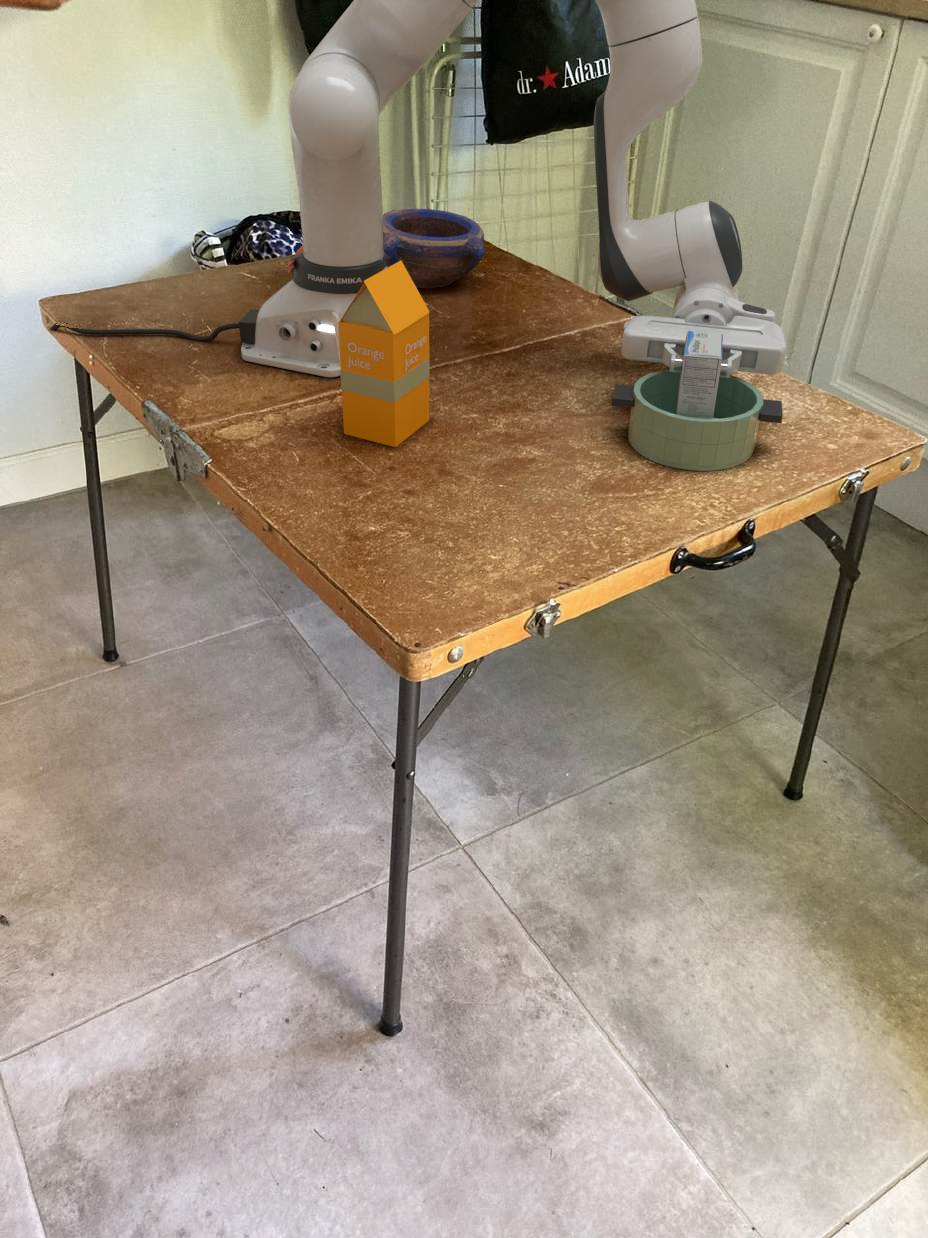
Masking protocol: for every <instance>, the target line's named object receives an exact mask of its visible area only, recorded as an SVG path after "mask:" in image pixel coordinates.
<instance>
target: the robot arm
mask: <svg viewBox="0 0 928 1238" xmlns="http://www.w3.org/2000/svg"><path fill="white" fill-rule="evenodd" d="M479 1H480V0H353V1H351V3H350V4H349V6H348V7H347V8H346V10H345V11H344V12H343V13H342V15H341V16H340V17H339V18H338V19H337V21H336V22H335V23H334V25H333V26H332V27H331V28H330V29H329V31H328V32H327V33H326V35H325V36H324V37H323V39H322V40H321V41H320V42H319V44H317V46H316V47H315V49H314V50H313V51H312V53H310V55H309V56H308V58H307V59H306V60H305V62H304V63H303V64H302V66H301V69H300V71H299V73H298V74H297V76H296V78H295V80H294V82H293V84H292V86H291V89H290V91H289V94H288V99H287V114H288V123H289V134H290V142H291V149H292V157H293V163H294V164H293V165H294V171H295V176H296V177H295V179H296V184H297V190H298V197H299V198H298V199H299V211H300V225H301V226H300V227H301V228H300V229H301V240H302V241H301V242H302V245H301V246H300V248H298V249H297V250H296V252H295V255H293V257H291V258H290V262H289V263H288V264H287V268H288V269H287V274H291V277H292V279H291V280H290V281H288V282H287V283H286V284H285V285H283V286H282V287H281V288H280V289H278V290H277V291H275V293H273V294H272V295H271V296H270V297H269V298H268V299H267V300H266V301H264V302H263V304H262V305H261V306H260V308H259V309H255V308H254V309H252V308H250V309H249V310H248V311H247V312H246V313H245V315H243V316H242V318H241V319H240V320H239V321H238V322H236V323H227V324H222V325H220V326H218V327H216V328H214V330H213V331H212V332H211V334H210V335H206V336H199V335H195V334H191V333H189V332H186V331H182V330H177V329H168V328H167V329H166V328H116V329H115V328H113V329H109V328H107V329H96V328H95V329H93V328H91V329H90V328H82V327H79V328H81V329H79V328H69V327H65V326H60V325H56V324H57V323H58V322H55V323H54V324H53V325H52V326H51V328H50V329H49V330H50V331H51V332H53V331H54V332H55V331H57V330H58V329H59V328H65V329H68V330H70V331H73V332H75V333H78V334H81V335H91V336H113V335H116V336H117V335H167V336H168V335H169V336H177V337H181V338H184V339H188V340H191V341H194V342H201V343H207V342H211V341H214V340H215V339H216V338H217V337H218V335H219V334H220V333H222V332H224V331H228V330H237V329H239V338H240V343H242V344H241V347H240V357H241V358H242V360H243V361H245V362H250V363H254V364H259V365H264V366H269V367H274V368H279V369H284V370H289V371H294V372H299V373H304V374H310V375H315V376H319V377H324V378H336V377H341V375H340V370H341V367H340V348H339V329H338V322H339V321H340V320H341V318H342V317H343V315H344V314H345V312H346V311H347V309H348V307H349V306H350V304H351V303H352V301H353V300H354V298H355V296H356V295H357V293H358V292H359V290H360V289H361V287H362V285H363V284H364V281H365V280H366V279H368V278H370V277H372V276H374V275H375V274H377V273H379V272H381V271H383V270H384V269H386V268H388V266H387V255H386V253H385V252H384V248H383V215H384V213H383V191H382V176H381V174H382V173H381V152H380V150H381V149H380V127H379V126H380V125H379V123H380V122H379V118H380V115H381V113H382V112H383V110H384V109H385V108H386V107H387V106H388V105H389V103H391V101H392V100H393V99H394V98H395V97H396V95H398V93H399V92H400V91H401V90H402V89H403V88H404V87H405V86H406V85H407V83H409V82H410V80H411V79H412V78H413V77H414V76H416V74H417V73H418V72H419V71H420V70H421V69H422V68H423V67H424V66H426V64H428V63H429V62H430V60H431V59H432V58H433V57H434V56H435V55H436V53H437V52H438V51H439V49H441V47H443V45H444V44H445V42H446V41H447V40H448V39H449V38H450V36H451V35H452V34H453V32H455V30H456V29H457V28H458V27H459V26H460V24H461V23H462V22H463V20H464V19H465V18H466V17H467V15H469V13H470V12H471V11H472V9H473V8H474V7H475V6H476V5H477V3H478V2H479ZM594 2H595V3H596V5H597V7H598V10H599V12H600V15H601V19H602V22H603V27H604V32H605V37H606V42H607V46H608V51H609V52H608V53H609V64H610V65H609V66H610V67H609V75H608V82H607V85H606V87H605V90H604V91H603V92H602V94H601V95H599V97H598V98H597V99H596V102H595V107H594V112H593V114H594V115H593V146H594V148H593V149H594V166H595V168H594V169H595V184H596V186H595V187H596V199H597V201H596V202H597V216H598V217H597V218H598V239H599V240H598V251H597V265H598V273H599V276H600V279H601V282H602V284H603V287H604V290H606V291H607V292H609V293H610V294H612V295H613V296H615V297H617V298H619V299H621V300H623V301H626V302H631V301H632V302H633V301H635V300H638V299H640V298H641V299H642V298H644V297H647V296H649V295H650V296H651V295H653V293H657V292H661V291H664V290H668V289H673V288H677V287H678V289H677V291H676V294H675V299H674V301H673V302H674V303H673V310H672V315H671V316H670V317H669V316H661V315H659V316H658V315H648V314H641V315H635V316H634V317H633V318H631V319H630V320H626V321H625V323H624V324H623V327H622V331H623V332H622V339H621V347H620V355H621V356H622V357H623V358H624V359H626V360H630V361H637V362H638V361H639V362H649V363H656V364H657V363H658V364H663V365H664V366H666V367H668V368H669V369H670V370H669V372H673V371H674V372H676V373H681V371H682V364H683V357H684V349H685V341H686V336H687V332H688V331H708V332H717V333H722V334H723V343H722V363H721V369H720V376H719V377H722V378H725V377H726V378H730V375H732V374H734V373H736V372H744V373H746V372H747V373H754V374H763V375H765V374H766V375H770V376H771V375H772V376H773V375H777V374H779V373H780V374H781V372H782V370H783V368H784V363H785V359H786V354H787V340H786V336H785V333H784V331H783V329H782V327H781V326H780V325H779V324H777V323H776V312H774V311H773V310H771V309H768V308H765V307H760V306H756V305H752V304H748V303H746V302H743V301H740V294H739V289H738V286H737V284H738V282H739V280H740V278H741V276H742V273H743V253H742V252H743V251H742V245H741V239H740V234H739V230H738V227H737V224H736V221H735V219H734V217H733V215H732V214H731V213H730V212H729V211H728V210H727V209H726V208H725V207H723V206H722V205H720V204H719V203H717V202H715V201H713V200H707V201H703V202H700V203H695V204H691V205H688V206H684V207H681V208H677V209H676V208H675V210H671V211H667V212H663V213H660V214H657V215H653V216H649V217H645V218H642V219H634V218H633V217H631V215H630V203H629V201H630V200H629V181H628V153H629V150H630V148H631V146H632V144H633V142H634V141H635V140H636V139H637V138H638V136H639V135H640V134H641V133H642V132H643V131H644V130H646V129H647V128H648V127H649V126H651V125H652V124H653V123H654V122H656V121H657V120H659V119H660V118H661V117H662V116H664V115H665V114H666V113H668V112H669V111H670V110H672V109H673V108H674V107H675V106H676V105H677V104H678V103H680V102H681V100H683V99H684V97H685V96H686V95H688V93H689V92H690V90H691V89H692V88H693V86H694V85H695V83H696V81H697V79H698V77H699V75H700V73H701V69H702V66H703V60H704V59H703V43H702V42H703V41H702V33H701V32H702V31H701V24H700V19H699V18H700V17H699V13H698V7H697V3H696V0H594ZM63 322H64V323H65V322H66V321H63ZM68 323H69V322H66V324H68Z"/></svg>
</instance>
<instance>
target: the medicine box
mask: <svg viewBox="0 0 928 1238" xmlns="http://www.w3.org/2000/svg"><path fill="white" fill-rule="evenodd" d="M722 343H723V334H722V333H717V332H708V331H688V332H687V336H686V341H685V349H684V357H683V364H682V371H681V377H680V385H679V394H678V406H677V414H676V415H681V416H685V417H692V418H701V419H713V415H714V408H715V402H716V395H717V389H718V382H719V376H720V369H721V363H722Z"/></svg>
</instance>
